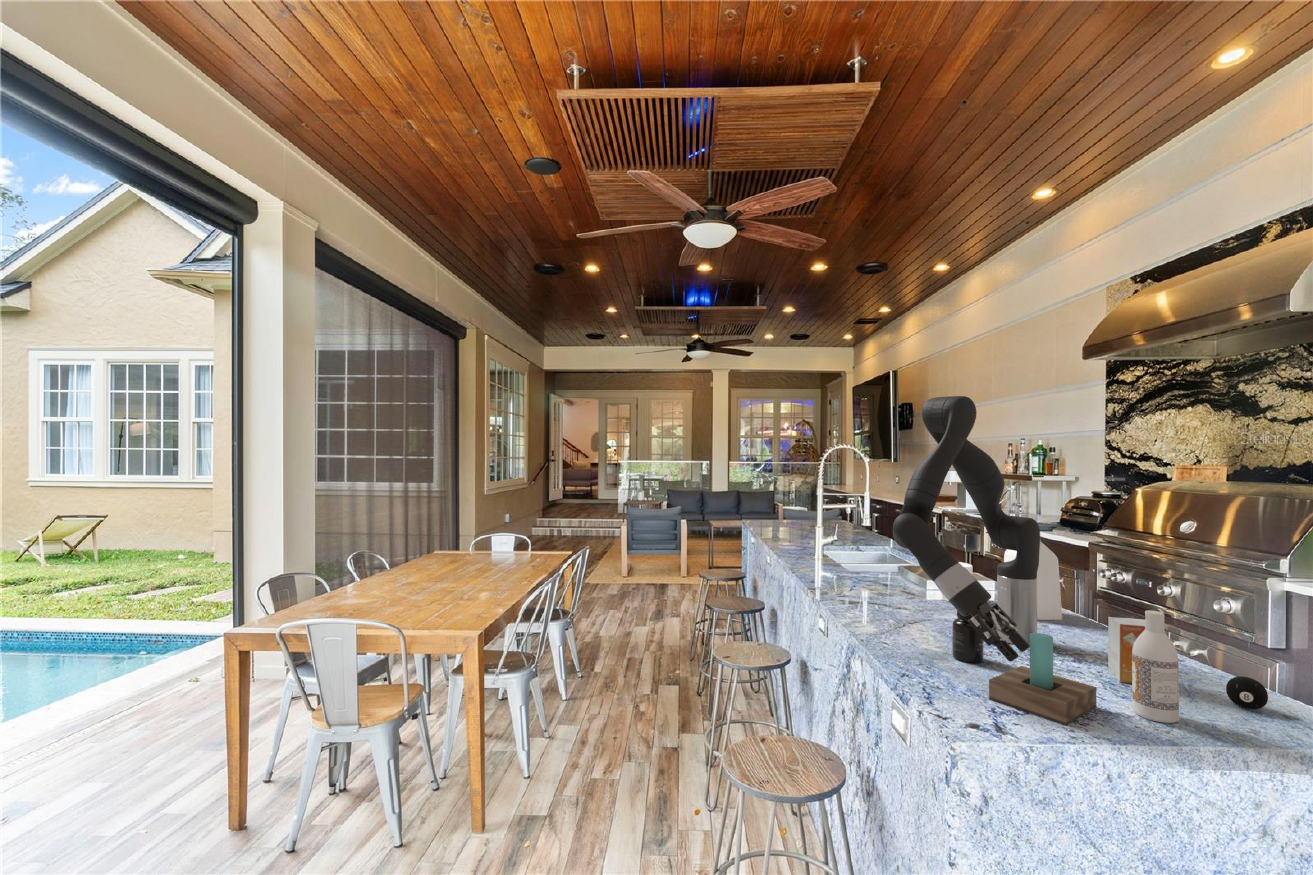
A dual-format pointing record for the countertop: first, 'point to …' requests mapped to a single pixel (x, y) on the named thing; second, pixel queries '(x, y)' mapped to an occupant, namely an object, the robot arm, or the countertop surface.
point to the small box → (1122, 646)
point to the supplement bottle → (966, 641)
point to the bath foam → (1155, 672)
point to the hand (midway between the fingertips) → (1020, 654)
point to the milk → (1045, 583)
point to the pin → (1041, 661)
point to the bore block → (1043, 696)
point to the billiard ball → (1247, 692)
